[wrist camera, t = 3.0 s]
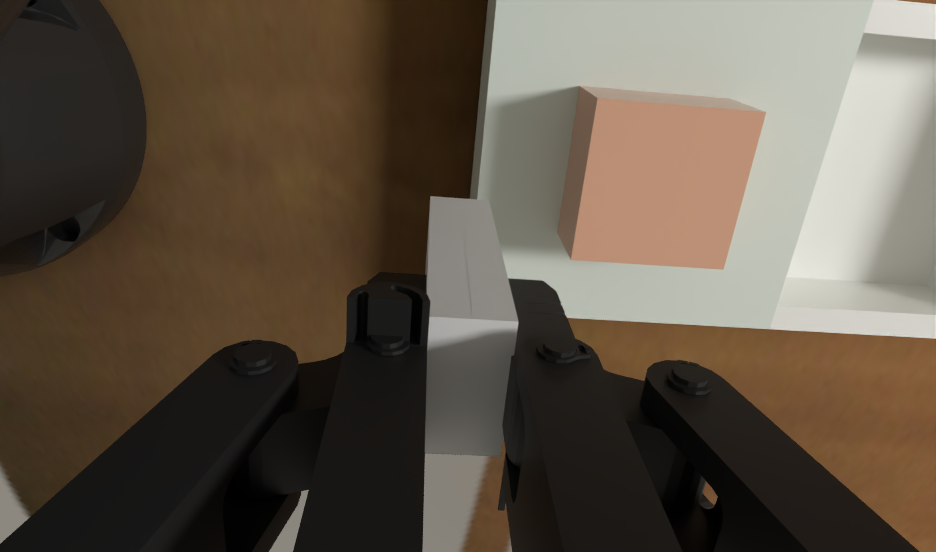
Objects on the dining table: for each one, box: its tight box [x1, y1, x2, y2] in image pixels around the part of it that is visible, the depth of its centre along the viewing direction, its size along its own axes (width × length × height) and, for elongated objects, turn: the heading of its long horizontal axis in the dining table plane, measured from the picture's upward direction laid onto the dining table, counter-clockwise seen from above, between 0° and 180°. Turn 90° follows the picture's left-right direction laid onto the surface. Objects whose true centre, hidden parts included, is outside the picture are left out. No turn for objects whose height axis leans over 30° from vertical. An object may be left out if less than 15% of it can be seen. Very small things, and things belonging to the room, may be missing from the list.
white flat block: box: [470, 0, 874, 329], centre depth 28 cm, size 14×14×4 cm
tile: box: [557, 86, 766, 270], centre depth 25 cm, size 6×6×3 cm
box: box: [770, 0, 936, 338], centre depth 29 cm, size 11×14×4 cm
